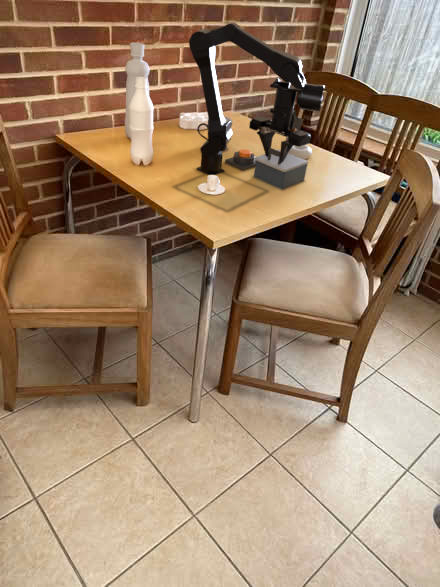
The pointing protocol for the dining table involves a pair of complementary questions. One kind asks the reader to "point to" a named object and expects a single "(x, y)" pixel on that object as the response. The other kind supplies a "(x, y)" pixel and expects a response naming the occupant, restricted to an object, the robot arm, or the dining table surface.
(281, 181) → the dark grey case
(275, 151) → the grey box lid
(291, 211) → the dining table surface
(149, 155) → the water bottle
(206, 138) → the coffee mug
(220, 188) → the teacup and saucer
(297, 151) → the donut
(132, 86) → the bottle
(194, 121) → the white egg tray
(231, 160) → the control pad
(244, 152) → the button
